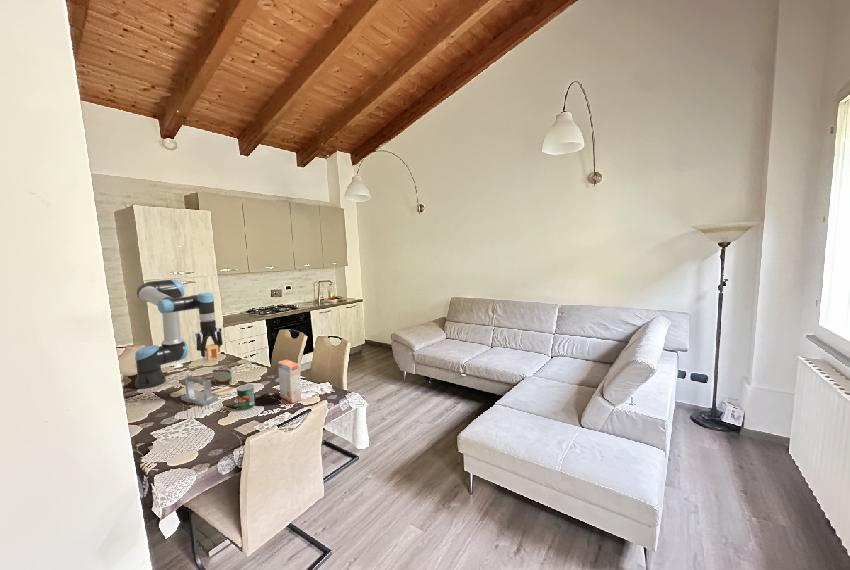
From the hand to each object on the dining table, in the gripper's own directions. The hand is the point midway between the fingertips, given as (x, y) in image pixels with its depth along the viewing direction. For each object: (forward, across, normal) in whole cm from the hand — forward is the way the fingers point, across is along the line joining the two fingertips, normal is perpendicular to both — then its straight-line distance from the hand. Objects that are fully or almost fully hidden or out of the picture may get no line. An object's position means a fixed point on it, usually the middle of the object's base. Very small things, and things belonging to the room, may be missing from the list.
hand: (211, 359), depth 197 cm
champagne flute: (+21, +18, +72) cm, 77 cm away
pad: (+21, +5, 0) cm, 22 cm away
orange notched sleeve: (-1, 0, 0) cm, 1 cm away
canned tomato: (+21, -2, -31) cm, 37 cm away
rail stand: (+21, -8, +1) cm, 22 cm away
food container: (+21, +14, +11) cm, 28 cm away
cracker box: (+21, +16, -44) cm, 51 cm away
